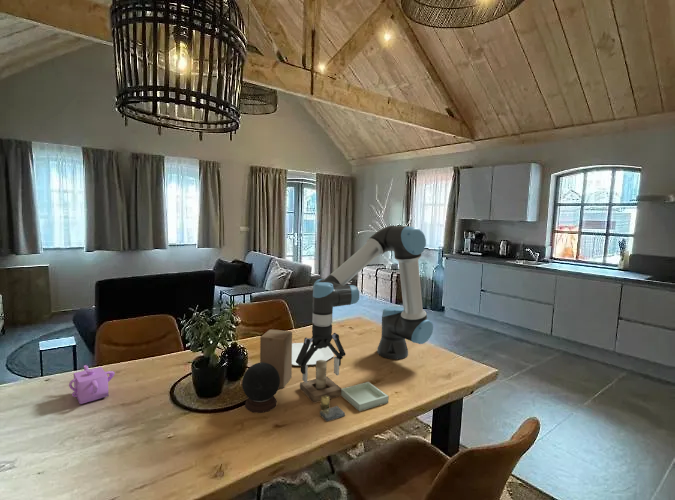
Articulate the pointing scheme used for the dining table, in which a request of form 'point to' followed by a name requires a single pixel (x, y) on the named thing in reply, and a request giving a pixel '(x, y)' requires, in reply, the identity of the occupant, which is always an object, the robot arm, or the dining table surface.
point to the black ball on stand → (261, 387)
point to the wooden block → (278, 353)
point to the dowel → (321, 374)
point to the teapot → (91, 384)
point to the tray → (364, 396)
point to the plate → (318, 355)
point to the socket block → (315, 395)
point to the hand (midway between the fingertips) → (320, 377)
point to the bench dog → (325, 402)
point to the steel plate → (332, 413)
